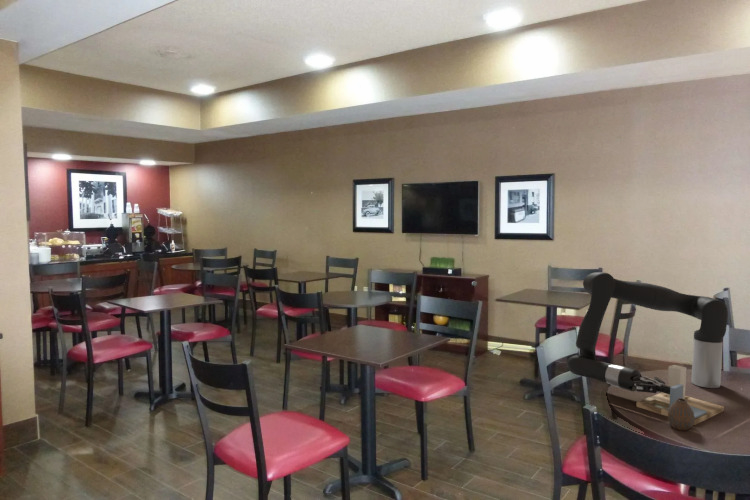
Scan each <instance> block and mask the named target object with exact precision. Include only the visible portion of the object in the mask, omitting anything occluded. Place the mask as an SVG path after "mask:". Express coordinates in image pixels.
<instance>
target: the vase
mask: <svg viewBox="0 0 750 500" xmlns="http://www.w3.org/2000/svg"><path fill="white" fill-rule="evenodd" d="M667 419H668V423H669V424H670V425H671V426H672V427H673V428H674V429H676V430H677V431H678V430H679V431H688V430H691V428H692V427H693V426H694V425H693V424H694V419H695V417H694V412H693V410H692V408H691V407H690V406H689V404H688V403H687V400H685V399H682V398H678V399H677V400H676V402H675V403H673V404H672V405H671V406H670V408H669V411H668V416H667Z"/></svg>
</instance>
